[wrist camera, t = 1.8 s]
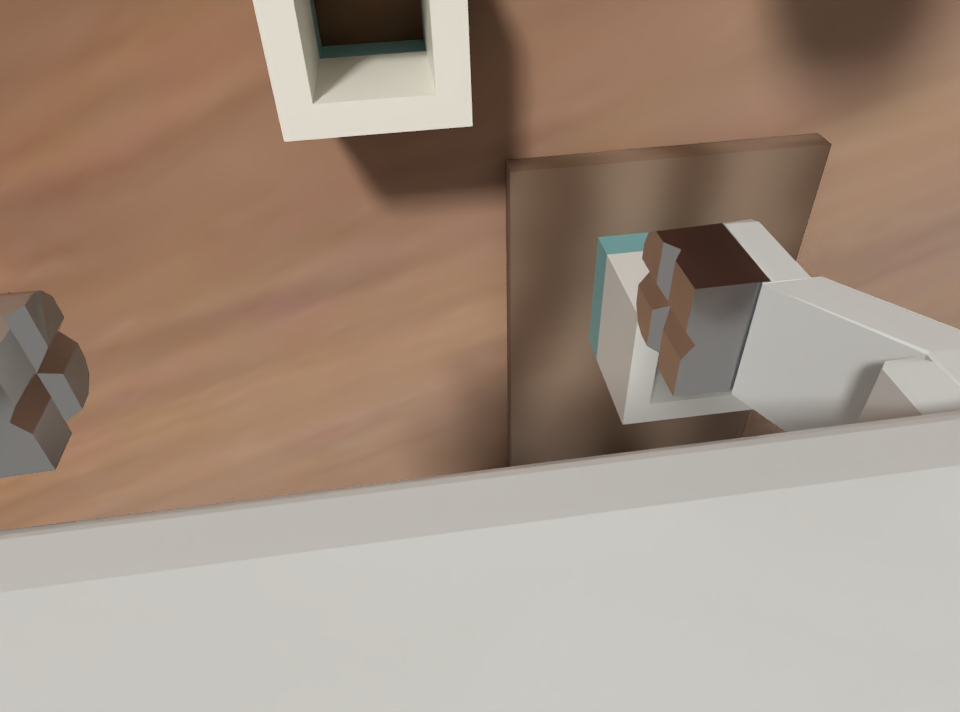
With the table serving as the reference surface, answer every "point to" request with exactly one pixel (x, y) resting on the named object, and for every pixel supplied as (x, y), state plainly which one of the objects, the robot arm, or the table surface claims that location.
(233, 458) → the table surface
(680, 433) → the pin board
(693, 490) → the robot arm
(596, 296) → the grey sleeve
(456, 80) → the cream sleeve
